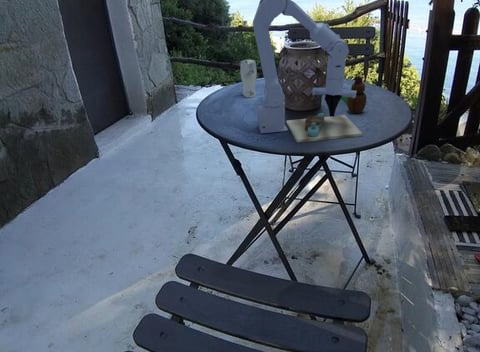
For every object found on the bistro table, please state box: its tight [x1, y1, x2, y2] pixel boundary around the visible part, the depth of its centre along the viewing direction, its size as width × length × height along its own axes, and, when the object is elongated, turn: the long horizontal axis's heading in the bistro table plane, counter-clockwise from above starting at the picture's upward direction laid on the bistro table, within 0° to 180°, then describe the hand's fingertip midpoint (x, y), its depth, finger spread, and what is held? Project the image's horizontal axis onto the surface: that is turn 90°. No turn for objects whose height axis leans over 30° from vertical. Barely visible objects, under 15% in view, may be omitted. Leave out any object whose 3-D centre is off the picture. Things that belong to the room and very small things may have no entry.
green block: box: [341, 87, 348, 105], centre depth 150 cm, size 11×4×5 cm, turn 4°
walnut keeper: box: [305, 115, 325, 131], centre depth 126 cm, size 4×5×4 cm
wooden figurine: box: [346, 73, 367, 114], centre depth 137 cm, size 7×6×15 cm
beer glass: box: [239, 59, 257, 98], centre depth 162 cm, size 7×7×15 cm
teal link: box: [308, 112, 326, 136], centre depth 127 cm, size 16×4×4 cm, turn 158°
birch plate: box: [285, 114, 363, 143], centre depth 129 cm, size 22×17×1 cm
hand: (332, 115), depth 130 cm, fingers closed
